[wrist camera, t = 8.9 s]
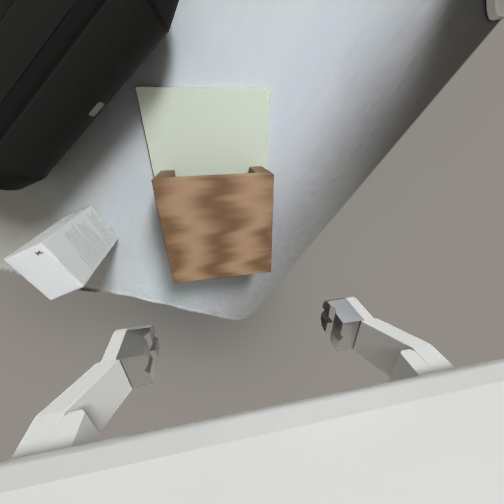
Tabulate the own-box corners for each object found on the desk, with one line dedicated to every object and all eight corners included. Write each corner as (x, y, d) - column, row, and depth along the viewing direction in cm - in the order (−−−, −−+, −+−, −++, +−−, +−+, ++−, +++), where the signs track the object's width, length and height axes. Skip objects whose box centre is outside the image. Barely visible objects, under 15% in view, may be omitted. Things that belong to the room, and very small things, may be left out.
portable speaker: (53, 185, 31) (-6, 208, 22) (-39, 118, 26) (-160, 114, 17) (189, 27, 26) (182, -23, 17) (106, -90, 21) (39, -238, 13)
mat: (268, 88, 30) (269, 87, 29) (266, 262, 42) (266, 263, 42) (136, 87, 27) (135, 86, 27) (175, 272, 40) (174, 274, 39)
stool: (273, 174, 28) (270, 271, 35) (261, 166, 34) (261, 251, 40) (151, 180, 26) (173, 283, 32) (160, 170, 31) (178, 259, 38)
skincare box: (64, 216, 32) (-1, 258, 22) (92, 204, 32) (40, 241, 22) (94, 250, 35) (49, 302, 25) (119, 239, 35) (85, 287, 25)
